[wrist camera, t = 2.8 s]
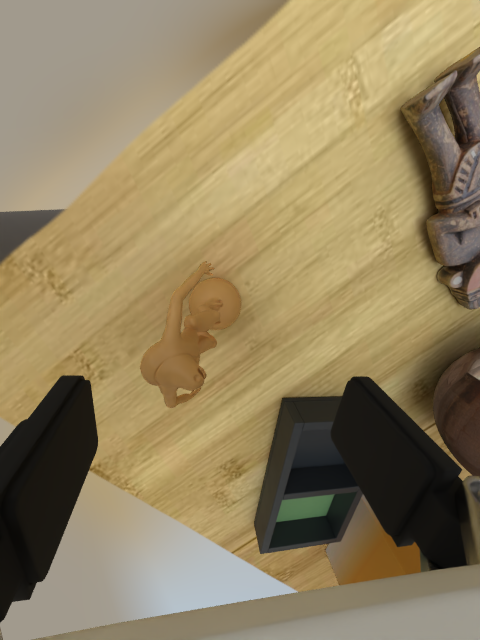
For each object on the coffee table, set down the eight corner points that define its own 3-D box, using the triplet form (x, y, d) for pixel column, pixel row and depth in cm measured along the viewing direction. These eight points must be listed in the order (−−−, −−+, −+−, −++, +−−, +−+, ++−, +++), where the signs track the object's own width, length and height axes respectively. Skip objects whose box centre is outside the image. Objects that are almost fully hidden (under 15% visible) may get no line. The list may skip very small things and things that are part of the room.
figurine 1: (230, 340, 24) (263, 455, 13) (161, 337, 22) (134, 462, 12) (243, 248, 20) (303, 297, 10) (165, 237, 19) (132, 281, 8)
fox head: (418, 545, 49) (553, 746, 31) (321, 555, 43) (414, 803, 26) (470, 481, 42) (679, 687, 24) (363, 484, 37) (527, 749, 19)
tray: (253, 523, 36) (260, 554, 33) (282, 397, 28) (294, 423, 24) (328, 513, 38) (340, 541, 35) (375, 395, 30) (398, 418, 27)
